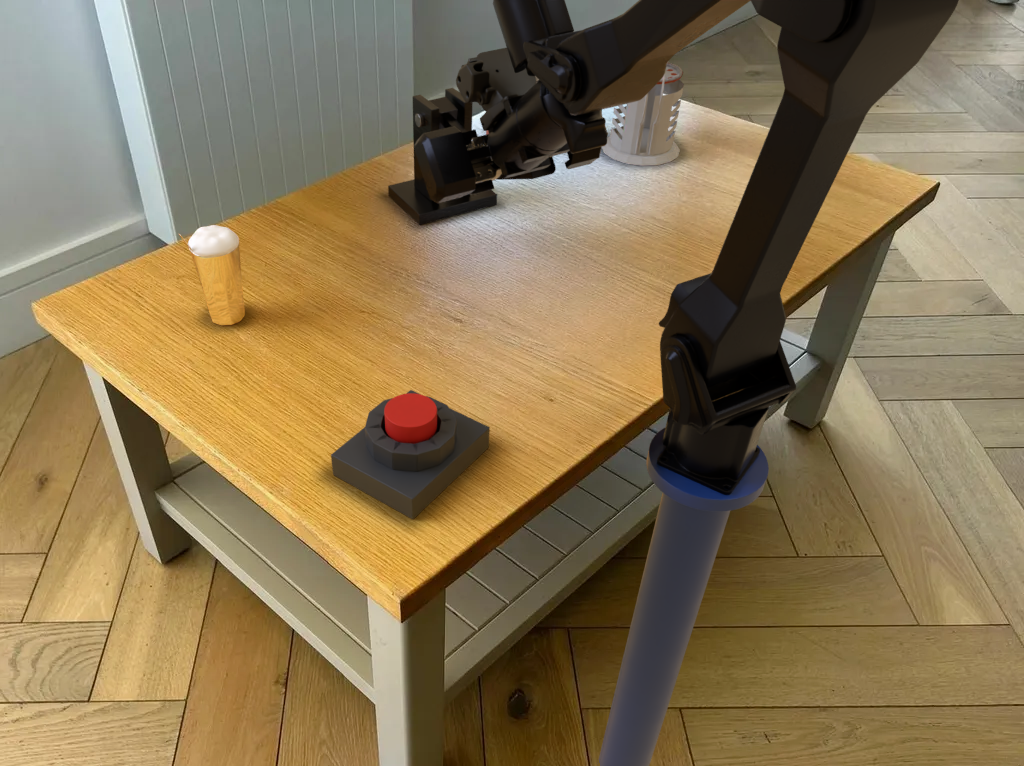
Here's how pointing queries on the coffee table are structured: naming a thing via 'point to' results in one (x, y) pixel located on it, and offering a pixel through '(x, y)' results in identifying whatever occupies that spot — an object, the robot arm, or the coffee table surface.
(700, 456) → the robot arm
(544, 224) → the coffee table surface
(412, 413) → the button
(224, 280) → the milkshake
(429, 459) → the control block
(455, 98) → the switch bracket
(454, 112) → the lever
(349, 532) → the coffee table surface
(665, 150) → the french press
